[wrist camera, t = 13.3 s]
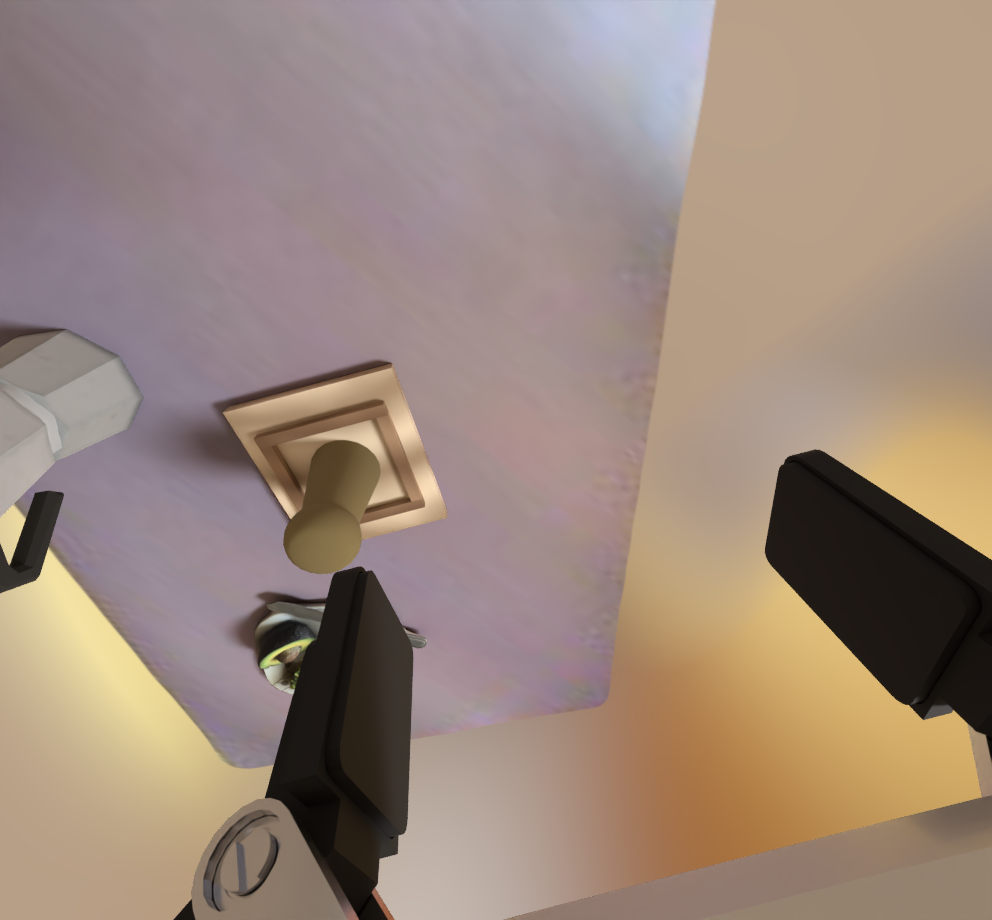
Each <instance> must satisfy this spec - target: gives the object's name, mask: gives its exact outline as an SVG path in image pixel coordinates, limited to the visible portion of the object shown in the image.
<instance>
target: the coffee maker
mask: <svg viewBox="0 0 992 920" xmlns="http://www.w3.org/2000/svg"><path fill="white" fill-rule="evenodd" d="M142 399H143V395H142V394H141V392H140V390H139V389H138V387H137V385H136V383H135V382H134V380H133V378H132V377H131V375H130V373H129V372H128V370H127V368H126V367H125V365H124V363H123V362H122V360H121V358H120V357H119V356H118V355H116V354H114V353H112V352H110V351H108V350H106V349H104V348H102V347H100V346H98V345H96V344H94V343H92V342H90V341H89V340H87V339H85V338H83V337H81V336H79V335H77V334H75V333H73V332H71V331H69V330H67V329H66V330H59V331H52V332H44V333H37V334H30V335H23V336H18V337H16V338H15V339H13V340H11V341H10V342H8V343H7V344H5V345H3V346H2V347H0V517H1V516H2V515H3V514H4V513H5V512H6V511H7V510H8V509H9V508H10V507H11V506H12V505H13V504H14V503H15V502H16V501H17V500H18V499H19V498H20V497H21V496H22V495H23V494H24V493H25V492H26V491H27V490H28V489H29V488H30V487H31V486H32V485H33V484H34V483H35V482H36V481H37V480H38V479H39V478H40V477H41V476H42V475H43V474H44V473H45V472H46V471H47V470H48V469H49V468H50V467H51V466H52V465H53V464H54V463H55V461H57V460H60V459H62V458H65V457H67V456H69V455H71V454H73V453H76V452H78V451H80V450H82V449H84V448H86V447H89V446H91V445H93V444H95V443H97V442H100V441H102V440H104V439H106V438H108V437H111V436H113V435H115V434H117V433H119V432H121V431H124V430H126V429H128V428H130V426H131V424H132V421H133V419H134V417H135V415H136V412H137V410H138V408H139V406H140V404H141V401H142ZM63 497H64V494H63V493H61V492H54V491H44V492H37V493H35V495H34V498H33V501H32V504H31V506H30V509H29V512H28V515H27V518H26V521H25V523H24V526H23V530H22V532H21V535H20V538H19V541H18V543H17V547H16V549H15V552H14V555H13V558H12V561H11V563H10V566H9V565H8V563H7V560H6V557H5V555H4V552H3V550H2V547H1V545H0V593H2V592H5V591H7V590H10V589H13V588H16V587H19V586H21V585H24V584H27V583H29V582H32V581H35V580H36V579H37V578H38V577H39V575H40V573H41V569H42V566H43V563H44V559H45V556H46V553H47V550H48V546H49V543H50V540H51V537H52V533H53V530H54V527H55V523H56V520H57V517H58V513H59V510H60V507H61V503H62V500H63Z"/></svg>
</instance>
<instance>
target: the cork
mask: <svg viewBox="0 0 992 920" xmlns="http://www.w3.org/2000/svg"><path fill="white" fill-rule="evenodd" d="M380 473H381V470H380V463H379V461H378V460H377V458H376V456H375V454H373V453H372V452H371V451H370V450H369V449H368V448H367V447H365V446H363V445H361V444H359V443H357V442H353V441H348V440H335V441H332V442H329V443H326V444H324V445H323V446H321V447H320V448H319V449H317V450H316V452H315V453H314V455H313V457H312V459H311V464H310V470H309V475H308V480H307V485H306V490H305V495H304V500H303V505H302V510H300V511H299V512H297V513H296V514H295V515H294V516H293V517H292V519H291V520H290V522H289V523H288V525H287V527H286V529H285V533H284V543H283V545H284V548H285V551H286V554H287V556H288V558H289V559H290V560H291V561H292V563H293V564H295V565H296V566H297V567H299V568H300V569H302V570H305V571H308V572H310V573H317V574H327V573H333V572H336V571H339V570H341V569H342V568H344V567H345V566H347V565H348V564H350V563H351V562H352V561H353V559H354V558H355V557H356V555H357V554H358V552H359V549H360V545H361V541H362V534H361V528H360V524H359V523H360V521H361V519H362V516H363V514H364V512H365V510H366V508H367V505H368V503H369V501H370V499H371V497H372V494H373V492H374V490H375V488H376V486H377V483H378V481H379V478H380Z"/></svg>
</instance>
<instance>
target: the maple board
mask: <svg viewBox="0 0 992 920" xmlns="http://www.w3.org/2000/svg"><path fill="white" fill-rule="evenodd" d="M223 414H224V415H225V417H226V419H227V420H228V422H229V423H230V425H231V426H232V428H233V430H234V431H235V433H236V434H237V436H238V437H239V439H240V441H241V442H242V444H243V445H244V447H245V448H246V450H247V452H248V453H249V455H250V456H251V458H252V459H253V461H254V462H255V464H256V466H257V467H258V469H259V470H260V472H261V473H262V475H263V477H264V478H265V480H266V481H267V483H268V484H269V486H270V488H271V489H272V491H273V492H274V494H275V495H276V497H277V499H278V500H279V502H280V503H281V505H282V506H283V508H284V510H285V511H286V513H287V514H288V516H289V517H290V519H292V517H293V516H294V515H295V514H296V513H297V512H299V511H300V510H302V505H303V500H304V495H305V490H306V485H307V480H308V475H309V470H310V464H311V459H312V457H313V455H314V453H315V452H316V450H317V449H319V448H320V447H321V446H323V445H324V444H326V443H329V442H332V441H335V440H348V441H353V442H357V443H359V444H361V445H363V446H365V447H367V448H368V449H369V450H370V451H371V452H372V453H373V454H375V456H376V458H377V460H378V461H379V463H380V470H381V473H380V478H379V481H378V483H377V486H376V488H375V490H374V492H373V494H372V497H371V499H370V501H369V503H368V505H367V508H366V510H365V512H364V514H363V516H362V519H361V521H360V523H359V524H360V528H361V534H362V540H363V539H367V538H371V537H375V536H379V535H382V534H386V533H390V532H394V531H398V530H401V529H405V528H409V527H413V526H417V525H420V524H424V523H428V522H432V521H436V520H439V519H443V518H447V509H446V506H445V503H444V501H443V498H442V495H441V493H440V490H439V487H438V485H437V482H436V479H435V477H434V474H433V471H432V468H431V466H430V463H429V460H428V458H427V455H426V452H425V450H424V447H423V444H422V442H421V439H420V436H419V434H418V431H417V428H416V425H415V423H414V420H413V417H412V415H411V412H410V409H409V407H408V404H407V401H406V399H405V396H404V393H403V391H402V388H401V385H400V382H399V380H398V377H397V374H396V372H395V369H394V366H393V364H392V363H391V364H387V365H384V366H380V367H376V368H372V369H369V370H365V371H361V372H357V373H354V374H350V375H346V376H342V377H339V378H335V379H331V380H327V381H324V382H320V383H316V384H312V385H309V386H305V387H301V388H297V389H294V390H290V391H286V392H282V393H279V394H275V395H271V396H267V397H264V398H260V399H256V400H252V401H249V402H245V403H241V404H237V405H233V406H230V407H228V408H227V409H226V410H225V411H224V412H223Z"/></svg>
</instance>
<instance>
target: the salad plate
mask: <svg viewBox="0 0 992 920" xmlns="http://www.w3.org/2000/svg"><path fill="white" fill-rule="evenodd" d="M325 604H326V603H303V604H300V603H290V602H274V603H270V604H266V605H267V607H268V609H269V610H272V611H271V612H270V613H269V614H267V615H266V616H265V617H264V618H263V619H262V620H261V621H260V622H259V623H258V625H257V626H256V628H255V632H254V642H255V646H256V649H257V651H258V654H259V658H258V665H259V667H260V668H261V669H264V672H265V675H266V677H267V679H268V681H269V682H270V683H271V685H273V686H274V687H275V688H277V689H279V690H281V691H284V692H286V693H290V694H294V690H295V686H296V683H297V679H298V675H299V672H300V668H301V665H302V661H303V657H304V654H305V651H306V649H307V646H308V645H309V644H310V643H311V642H312V641H314V640H317V636H318V632H319V628H320V624H321V620H322V616H323V612H324V608H325ZM404 630H405V632H406V634H407V636H408V637H409V639H410V642H411V645H412V647H415V648H422V647H425V646H426V644H427V639H426V638H425V637H423V636H420V635H418V634H415V633H412V632H409V631H407V630H406V629H405V628H404Z"/></svg>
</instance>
